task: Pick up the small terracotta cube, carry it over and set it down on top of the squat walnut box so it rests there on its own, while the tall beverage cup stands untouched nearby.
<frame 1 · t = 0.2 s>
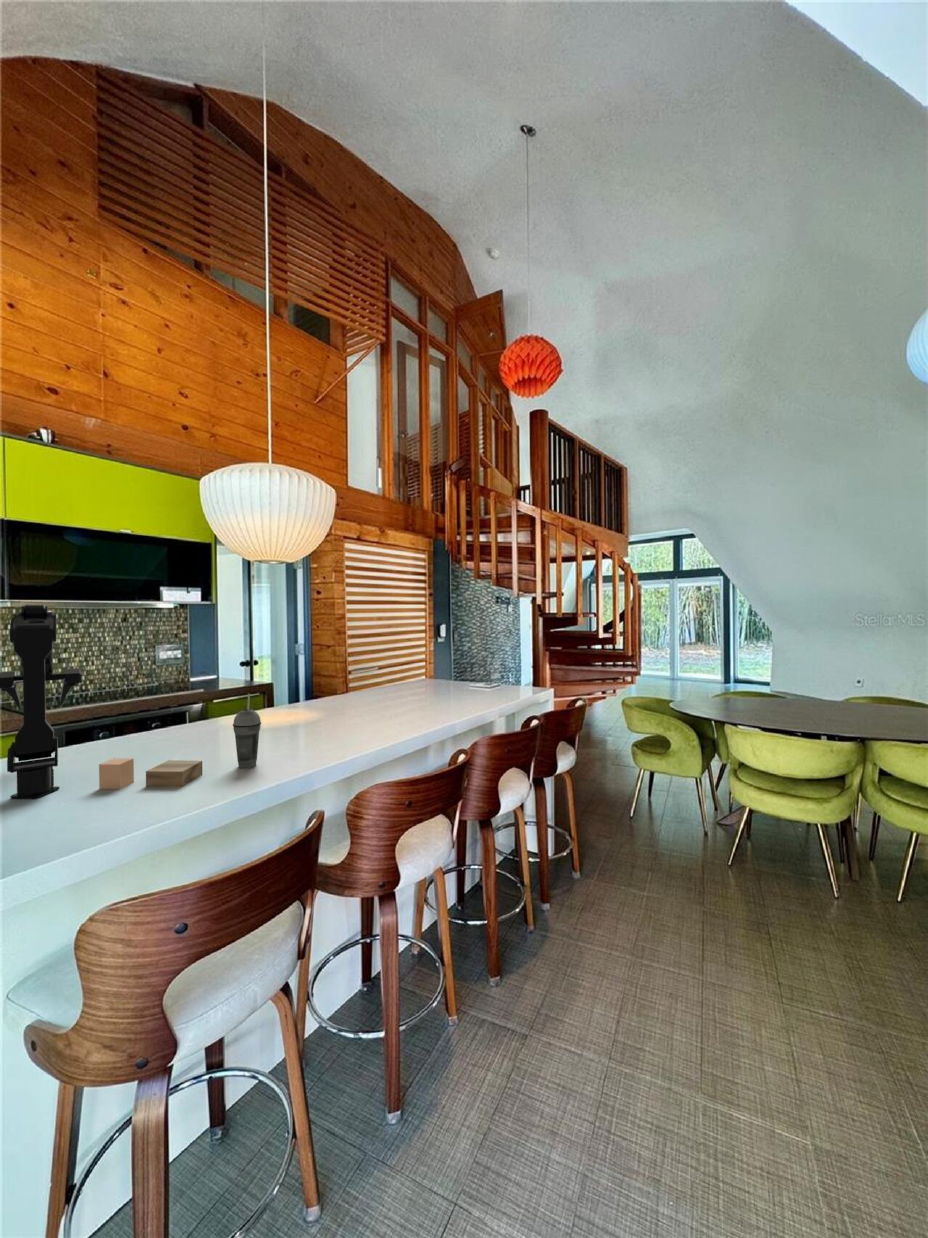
hand: (40, 706, 146), 15 cm above the table, tool pointing down, fingers open, 9 cm apart
walnut box: (175, 781, 128), on the table
terracotta cube: (117, 785, 125), on the table
beverage cup: (247, 766, 140), on the table
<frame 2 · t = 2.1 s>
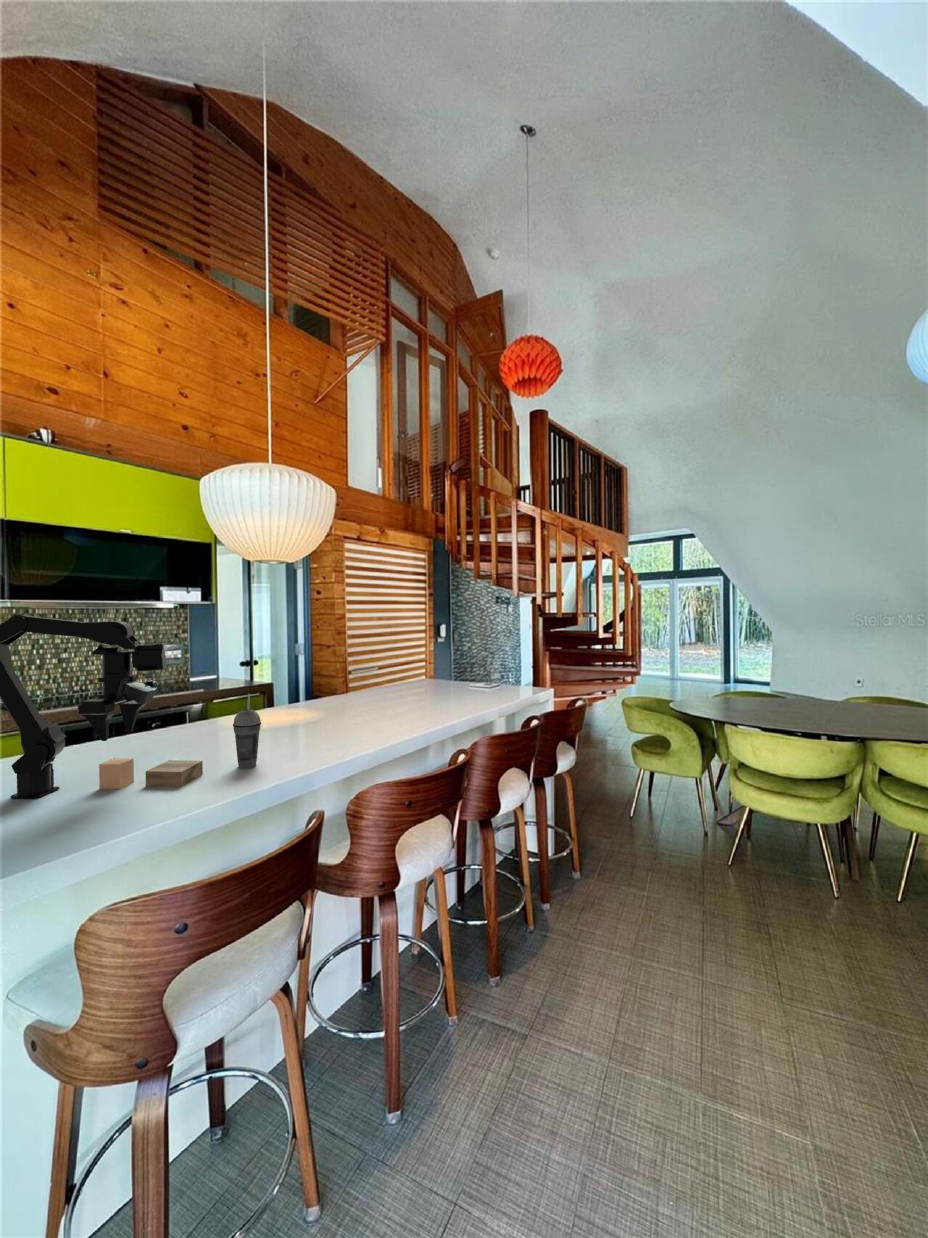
hand: (117, 736, 125), 12 cm above the table, tool pointing down, fingers open, 9 cm apart
nothing on the table moved.
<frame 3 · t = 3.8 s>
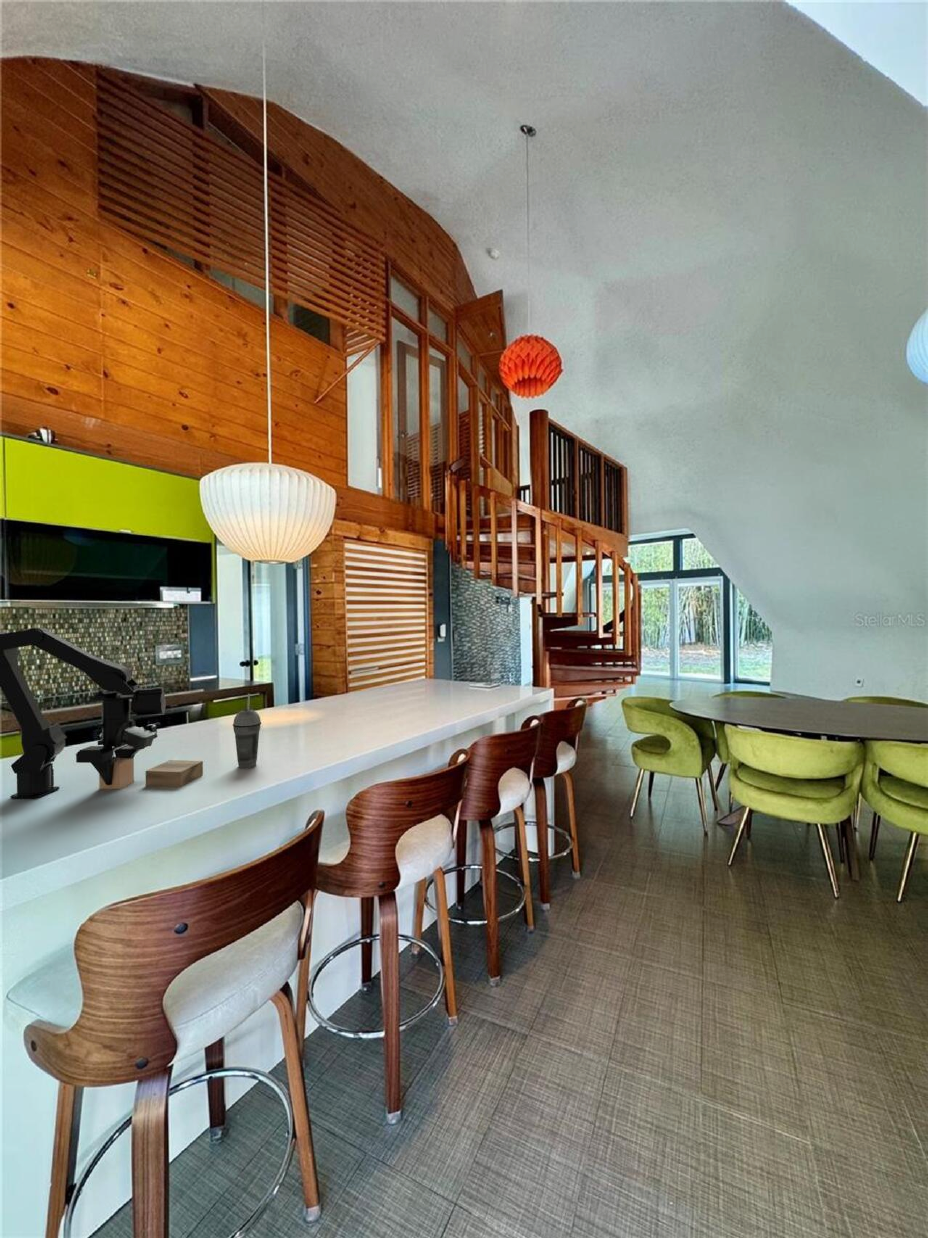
hand: (116, 781, 125), 1 cm above the table, tool pointing down, fingers closed on terracotta cube, 5 cm apart
terracotta cube: (117, 785, 125), on the table, touching gripper
everything else where it was.
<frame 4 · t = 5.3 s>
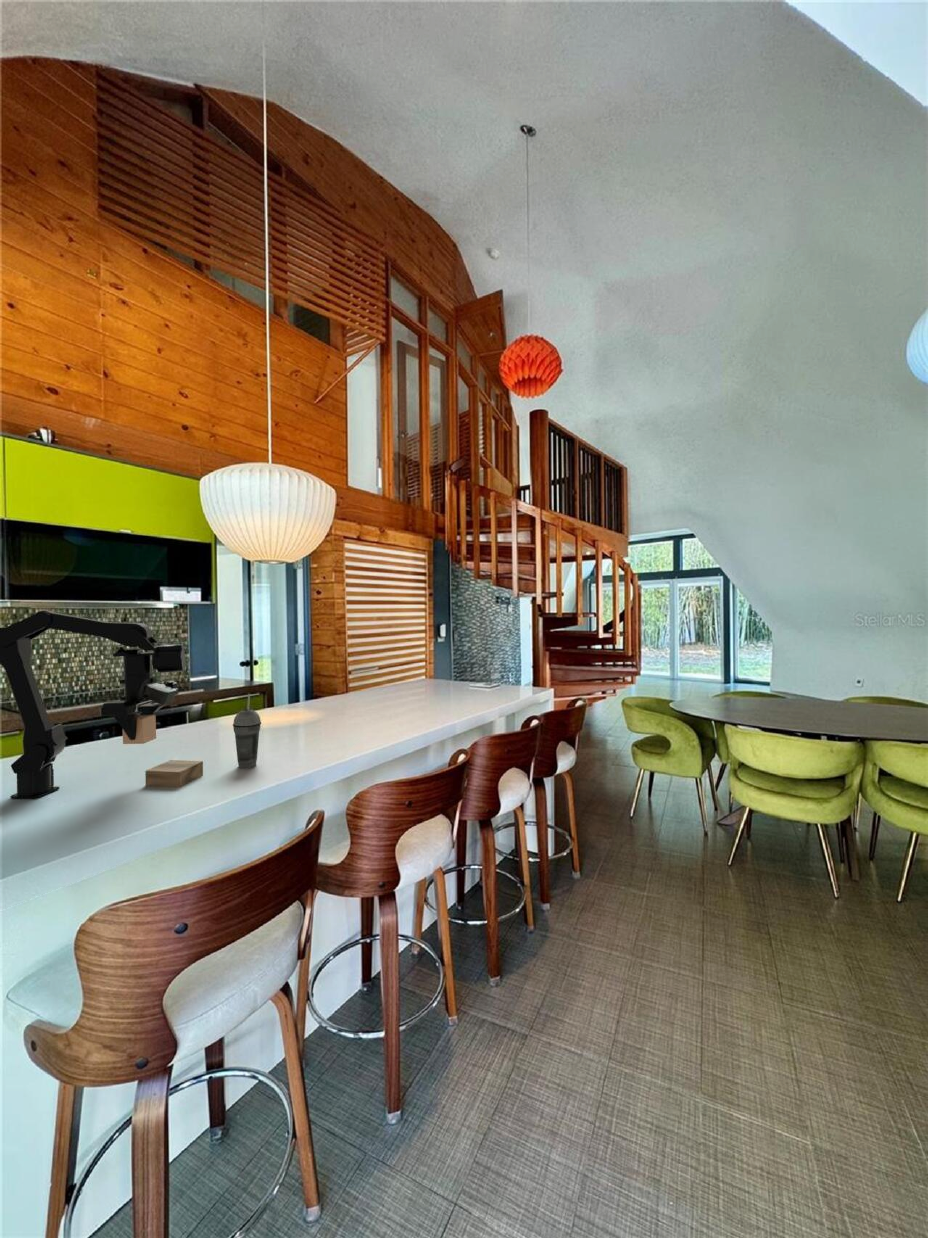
hand: (139, 737, 126), 11 cm above the table, tool pointing down, fingers closed on terracotta cube, 5 cm apart
terracotta cube: (139, 741, 126), point 10 cm above the table, touching gripper
everything else where it was.
when the fingers open (6 cm above the table, at t = 7.0 s): terracotta cube drops 2 cm, resting on walnut box.
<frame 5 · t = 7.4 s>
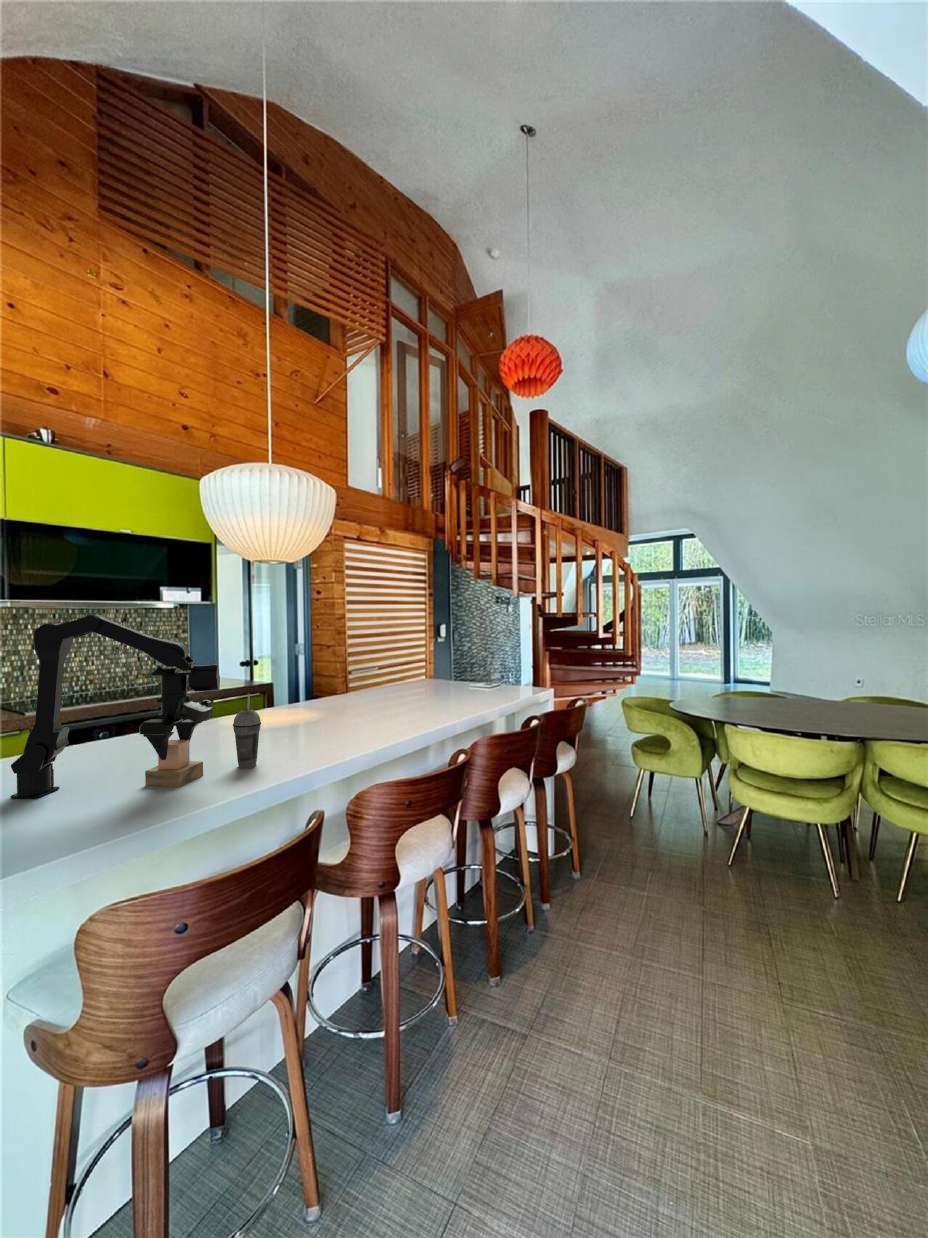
hand: (174, 754, 128), 6 cm above the table, tool pointing down, fingers open, 9 cm apart
walnut box: (175, 781, 128), on the table, touching terracotta cube
terracotta cube: (174, 766, 128), point 4 cm above the table, touching walnut box
everything else where it was.
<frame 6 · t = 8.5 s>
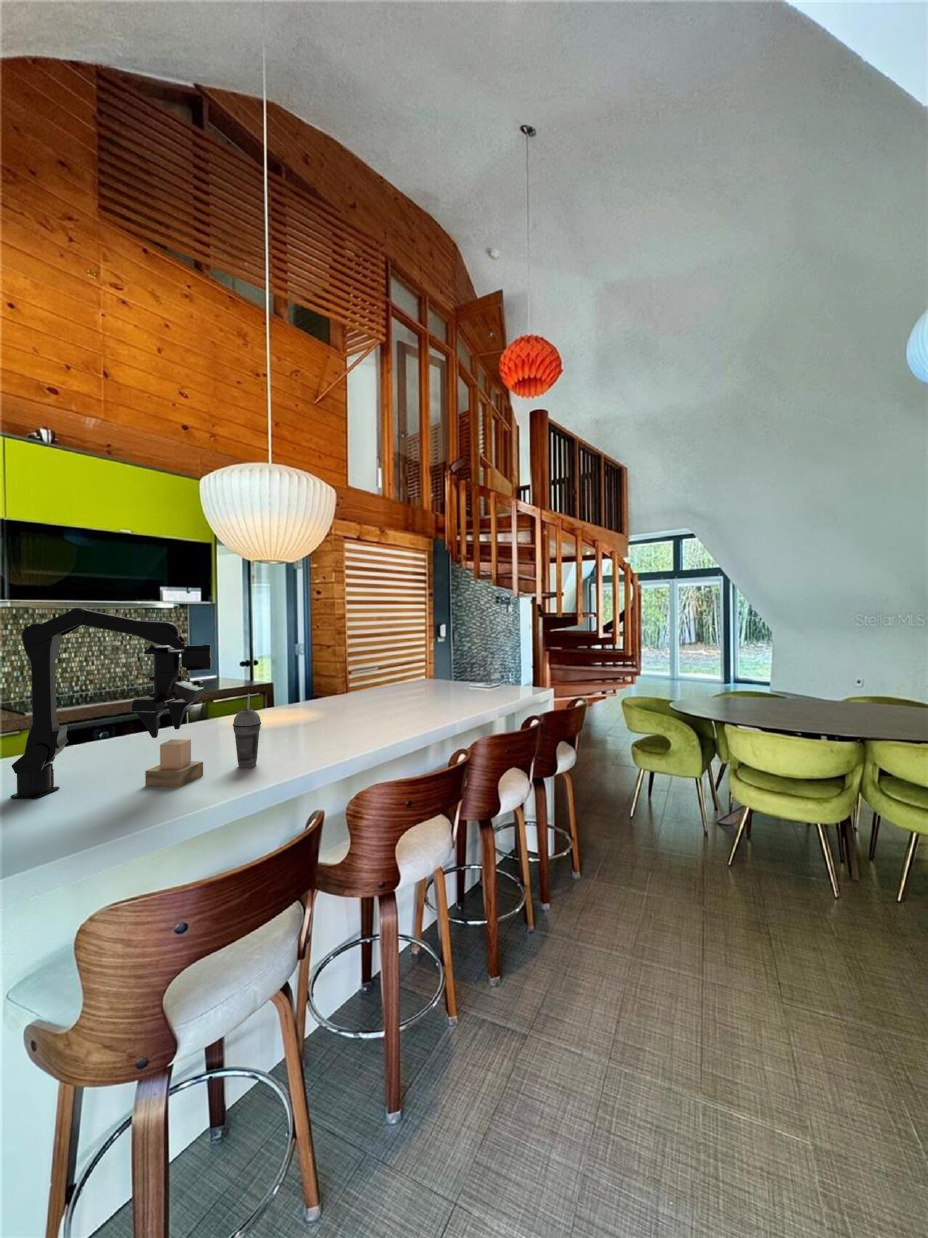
hand: (166, 733, 129), 12 cm above the table, tool pointing down, fingers open, 9 cm apart
walnut box: (175, 781, 128), on the table
terracotta cube: (175, 765, 128), point 4 cm above the table
everything else where it was.
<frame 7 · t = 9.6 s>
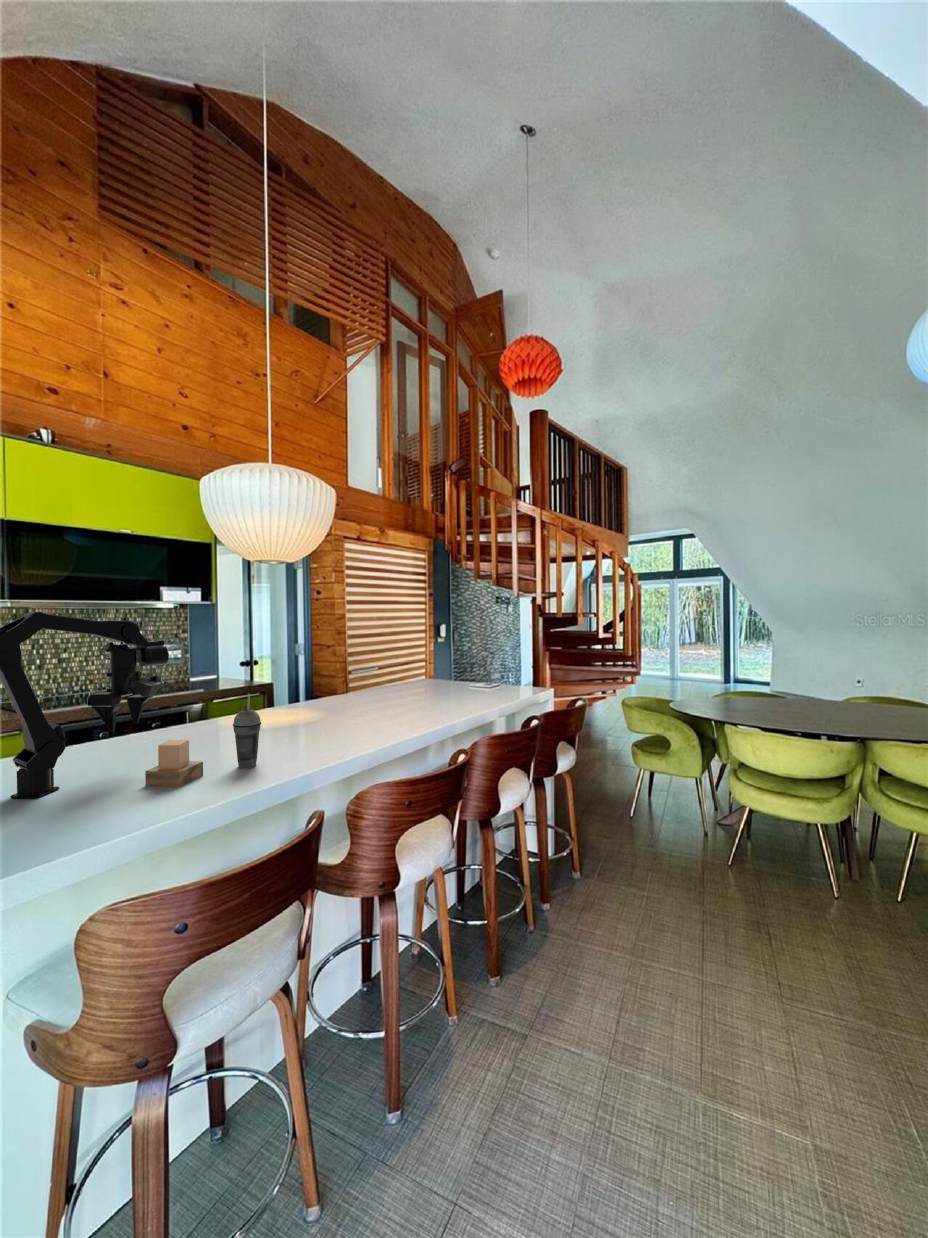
hand: (124, 727, 134), 12 cm above the table, tool pointing down, fingers open, 9 cm apart
nothing on the table moved.
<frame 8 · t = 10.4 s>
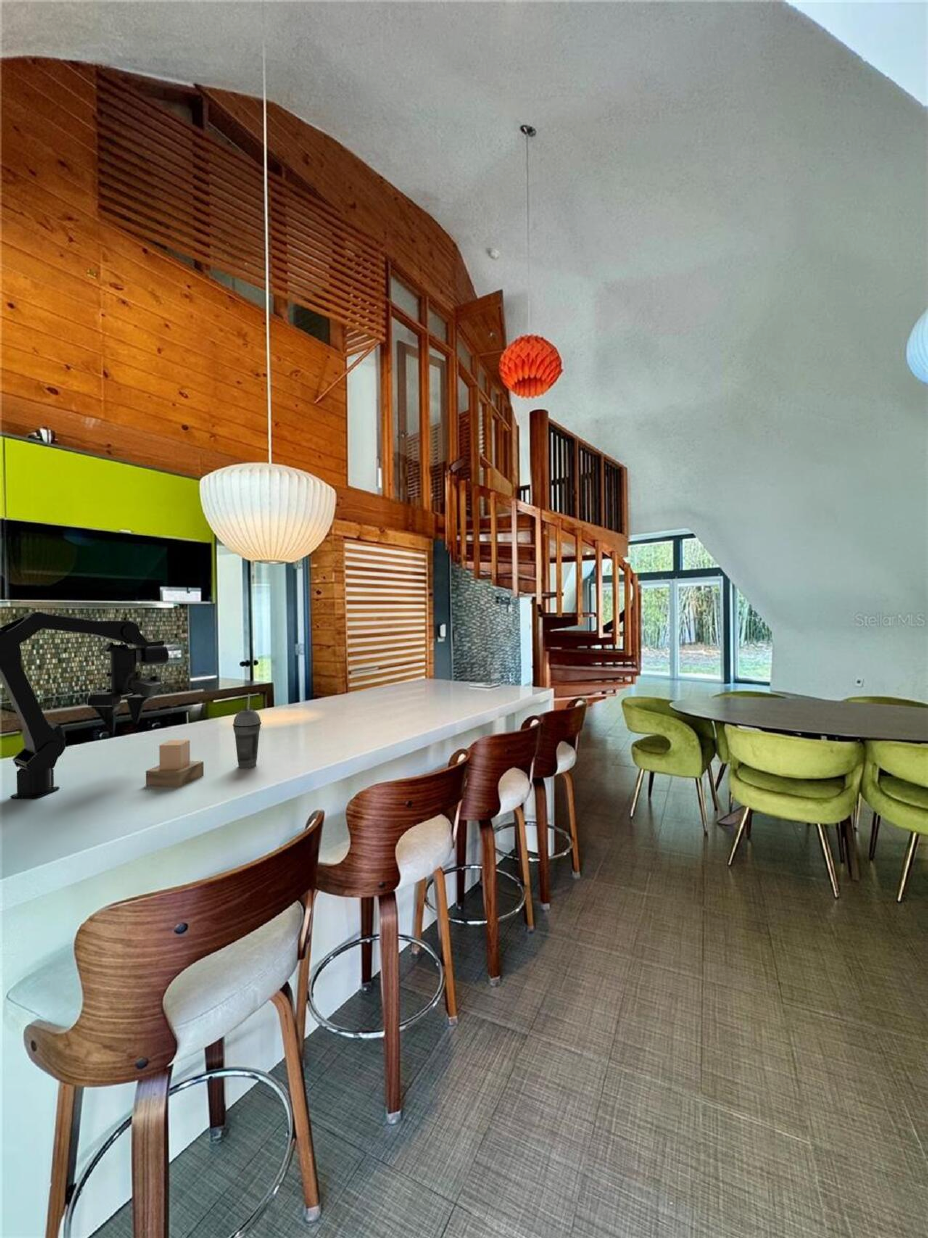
hand: (124, 727, 134), 12 cm above the table, tool pointing down, fingers open, 9 cm apart
nothing on the table moved.
at the end: terracotta cube 0.3 cm off-centre on the walnut box, point 4.0 cm above the walnut box's base; terracotta cube tilted 0°; the gripper is holding nothing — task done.
